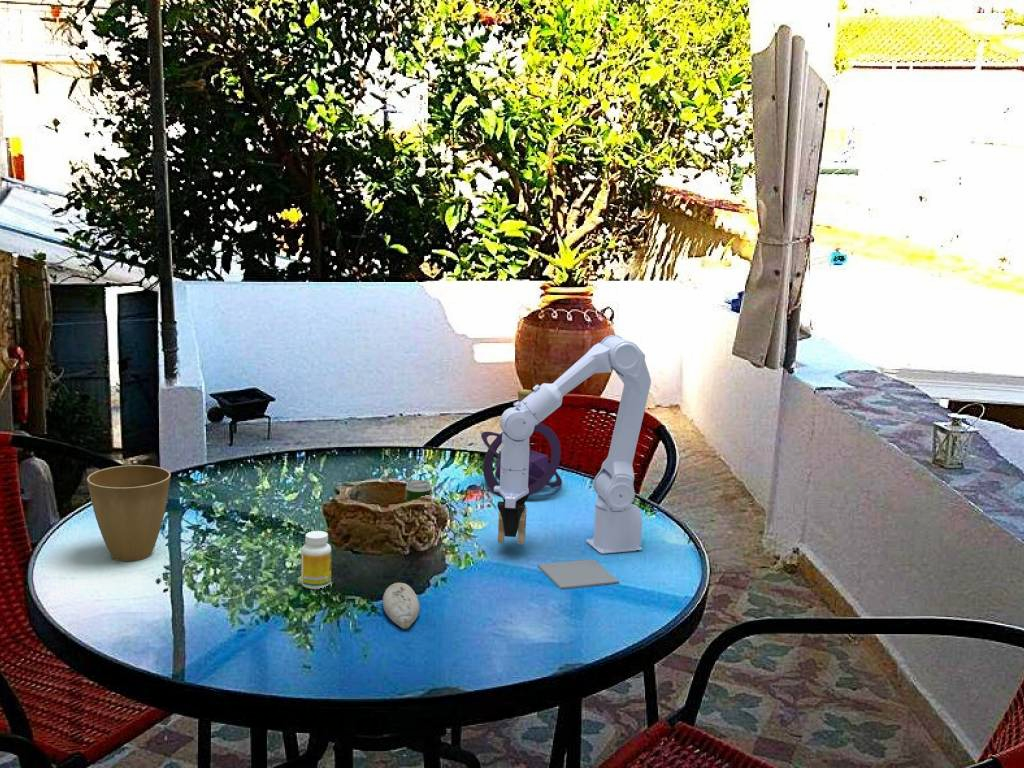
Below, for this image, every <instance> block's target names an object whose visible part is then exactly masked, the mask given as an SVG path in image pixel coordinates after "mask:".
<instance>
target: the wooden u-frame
mask: <svg viewBox="0 0 1024 768" xmlns="http://www.w3.org/2000/svg"><path fill="white" fill-rule="evenodd" d="M527 508H528V507H527V506H526V507H525V509H524V511H523V512H522V515H521V517H520V521H519V526H518V531H517V541H516V542H517V545H524V543H525V538H526V531H527ZM497 528H498V531H497V543H498V544H504V543H505V537H506V536H505V532H504V526H503V520H502V516H501V513H500V511H498V525H497Z"/></svg>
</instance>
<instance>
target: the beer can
mask: <svg viewBox="0 0 1024 768" xmlns="http://www.w3.org/2000/svg"><path fill="white" fill-rule="evenodd" d="M404 493H405V495H404V497H405V499H404V500H406V501H409V500H413V499H417V498H419V497H421V496H425V495H430V496H431V497H432V486H431V482H430V481H427V480H423V479H421V480H420V479H415V480H413V479H412V480H409V481H407V482H406V486H405V492H404Z"/></svg>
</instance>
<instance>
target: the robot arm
mask: <svg viewBox="0 0 1024 768" xmlns="http://www.w3.org/2000/svg"><path fill="white" fill-rule="evenodd" d="M647 366H648V365H647V363H646V354H645V353H644V352H643V350H642V349H641V348H640V347H639V346H638V345H637V344H636V343H635V342H633V341H630V340H627V339H625V338H623V337H622V336H620V335H617V334H611V335H607V336H605V337H604V338H603V339H602V340H601V341H600V342H597V343H596V344H594V345H593V346H592V347H590V349H589V350H588V351H587V352H586V353H585V354H584V355H583V356H582V357H581V358H579V359H578V360H577V361H576V362H575V363H574V364H573V365H572V366H570V367H569V368H568V369H567V370H566V371H565V372H563V374H561V376H559V377H558V378H557V379H556V380H554V382H553V383H547V382H544V383H542V384H541V385H539V384H536V385H535V386H533V387H532V393H531V394H529V395H528V396H527V397H526V398H525V399H523V400H522V401H521V402H520V401H519V400H518V401H515V402H516V403H515V402H514V403H515V406H516V407H515V406H513V407H509V408H507V409H505V410H504V411H503V413H502V414H501V416H500V419H499V420H498V425H499V427H500V429H501V430H502V432H501V433H502V443H501V445H500V446H501V448H500V451H501V468H500V480H499V483H500V486H495V487H494V491H495V492H499V493H500V494H501V496H502V497H501V496H500V497H501V499H502V500H503V501H500V500H499V501H497V505H496V506H497V509H498V510H499V511H500V513H501V516H502V520H503V526H504V532H505V536H504V537H506V538H516V537H517V535H518V526H519V521H520V517H521V515H522V512H523V511H524V509H525V507H527V505H526V501H527V500H528V498H529V497H530V496H529V488H528V473H529V449H530V448H531V446H530V437H531V436H532V435H533V433H534V432H535V431H534V427H535V425H538V424H539V423H541V422H542V421H544V420H545V419H547V418H548V417H549V416H550V415H551V414H552V413H554V412H555V411H556V410H557V409H558V408H560V407H561V406H562V403H563V397H564V396H565V395H567V394H568V393H570V391H573V390H574V389H575V388H576V387H578V386H579V385H581V383H583V382H584V381H586V380H588V378H591V376H593V375H594V374H602V373H603V374H604V373H612V370H613V371H614V372H615V373H616V375H617V376H618V378H619V379H620V381H621V382H622V383H623V388H622V393H621V396H620V401H619V405H618V411H617V416H616V420H615V423H614V428H613V432H612V437H611V441H610V446H609V451H608V454H607V457H606V459H604V461H603V462H601V463H602V464H601V468H600V470H599V472H598V473H597V474H596V475H595V477H594V479H593V484H592V485H593V490H594V492H595V493H596V495H597V497H596V498H597V499H596V501H595V506H594V507H595V509H594V523H593V526H594V527H593V528H594V529H593V538H587V539H585V543H587V544H588V545H589V546H591V547H592V548H593V549H595V550H596V551H597V552H598V553H599V554H601V555H603V554H605V555H606V554H617V553H626V552H627V553H628V552H637V551H636V550H639V551H642V550H643V547H642V546H641V541H642V528H643V525H642V524H643V517H642V516H643V515H642V512H641V509H640V508H639V506H638V505H637V504H633V502H634V499H635V496H636V494H635V493H636V491H635V488H634V483H635V482H634V481H635V473H634V467H633V462H634V459H635V454H636V449H637V445H638V441H639V436H640V432H641V427H642V423H643V419H644V415H645V411H646V406H647V402H648V397H649V394H650V388H651V385H652V378H651V375H650V372H649V369H648V367H647ZM503 431H504V432H503ZM530 450H531V449H530ZM499 511H498V512H499Z"/></svg>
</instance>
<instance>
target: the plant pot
mask: <svg viewBox="0 0 1024 768" xmlns="http://www.w3.org/2000/svg"><path fill="white" fill-rule="evenodd" d="M171 475H172V474H171V472H170V471H169V470H168V469H165V468H162V467H159V466H153V465H143V464H132V465H130V464H129V465H119V466H110V467H106V468H102V469H100V470H96V471H94V472H92V473H90V474H89V475H88V476H87V477H86V482H87V487H88V491H89V497H90V501H91V505H92V508H93V509H92V510H93V513H94V516H95V519H96V522H97V526H98V528H99V530H100V534H101V536H102V539H103V542H104V543H105V545H106V546H105V547H106V548H107V550H108V552H109V554H110V557H111V558H112V559H114V560H116V561H119V562H135V561H140V560H144V559H146V558H148V557H150V556H151V555H152V554H153V551H154V549H155V546H156V543H157V541H158V537H159V536H160V535H159V534H160V531H161V528H162V524H163V521H164V516H165V513H166V507H167V503H168V496H169V490H170V483H171Z"/></svg>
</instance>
